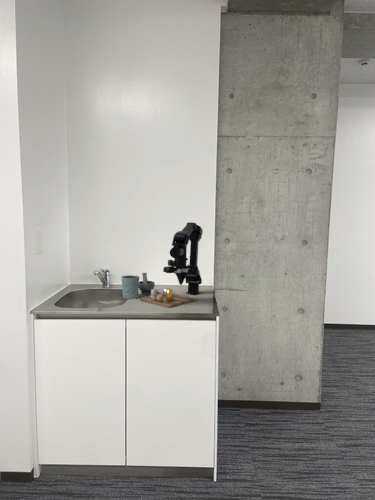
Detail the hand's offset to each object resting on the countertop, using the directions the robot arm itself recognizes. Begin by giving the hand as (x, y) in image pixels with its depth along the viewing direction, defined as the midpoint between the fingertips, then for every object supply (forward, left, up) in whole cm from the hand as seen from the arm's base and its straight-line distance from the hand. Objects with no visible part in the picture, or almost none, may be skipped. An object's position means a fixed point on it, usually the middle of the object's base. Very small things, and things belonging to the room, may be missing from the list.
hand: (180, 284), depth 226 cm
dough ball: (+9, -6, -7) cm, 13 cm away
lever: (+1, -9, -8) cm, 12 cm away
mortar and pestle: (-2, -30, -10) cm, 31 cm away
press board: (+1, -8, -10) cm, 12 cm away
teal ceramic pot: (+11, -29, -10) cm, 32 cm away
